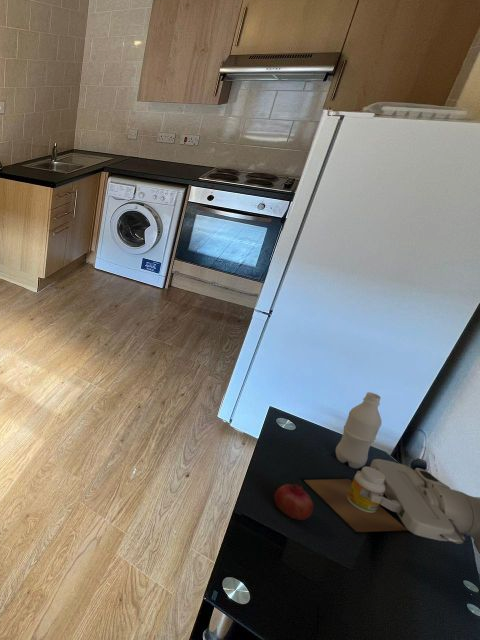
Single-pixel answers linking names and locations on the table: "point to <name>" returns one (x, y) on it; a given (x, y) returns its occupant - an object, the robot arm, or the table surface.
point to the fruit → (294, 501)
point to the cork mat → (353, 507)
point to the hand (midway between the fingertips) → (363, 484)
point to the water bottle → (360, 432)
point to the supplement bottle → (366, 489)
